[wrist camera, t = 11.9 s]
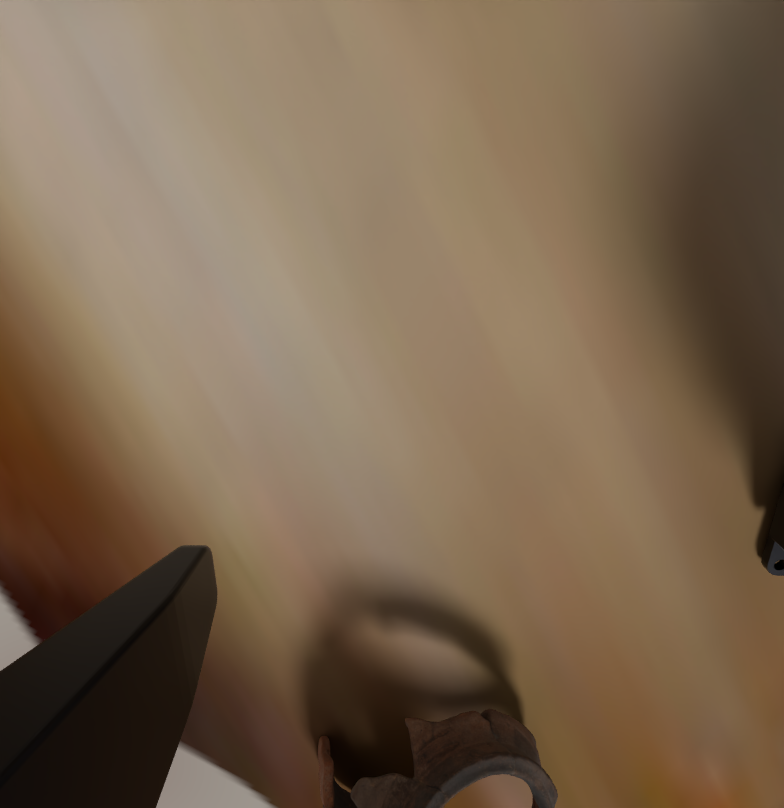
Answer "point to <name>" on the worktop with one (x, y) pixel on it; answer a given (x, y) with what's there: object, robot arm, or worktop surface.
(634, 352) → the worktop surface
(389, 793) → the dark brown curved piece
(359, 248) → the worktop surface
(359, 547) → the worktop surface
